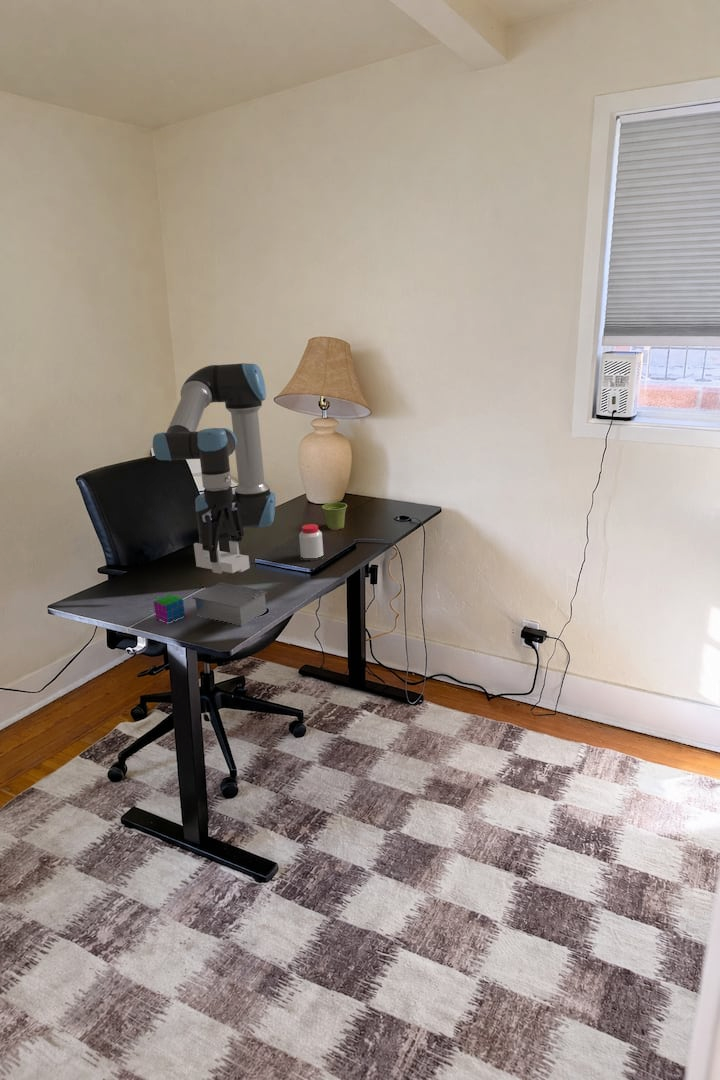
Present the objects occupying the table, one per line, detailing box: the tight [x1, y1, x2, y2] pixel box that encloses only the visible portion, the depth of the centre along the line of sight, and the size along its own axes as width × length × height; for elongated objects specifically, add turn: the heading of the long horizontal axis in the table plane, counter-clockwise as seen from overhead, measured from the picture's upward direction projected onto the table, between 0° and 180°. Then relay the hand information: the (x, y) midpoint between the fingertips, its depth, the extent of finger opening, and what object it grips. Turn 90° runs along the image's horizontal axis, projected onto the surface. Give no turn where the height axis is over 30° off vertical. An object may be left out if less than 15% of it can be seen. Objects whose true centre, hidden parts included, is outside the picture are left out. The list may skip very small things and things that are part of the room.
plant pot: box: [321, 502, 348, 531], centre depth 277 cm, size 9×9×9 cm
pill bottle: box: [298, 523, 324, 558], centre depth 246 cm, size 8×8×11 cm
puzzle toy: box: [153, 594, 186, 622], centre depth 205 cm, size 6×6×6 cm
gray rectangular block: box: [192, 581, 268, 627], centre depth 206 cm, size 17×12×6 cm
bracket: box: [193, 542, 251, 574], centre depth 202 cm, size 13×7×8 cm, turn 59°
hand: (226, 567), depth 202 cm, fingers closed on bracket, 7 cm apart
